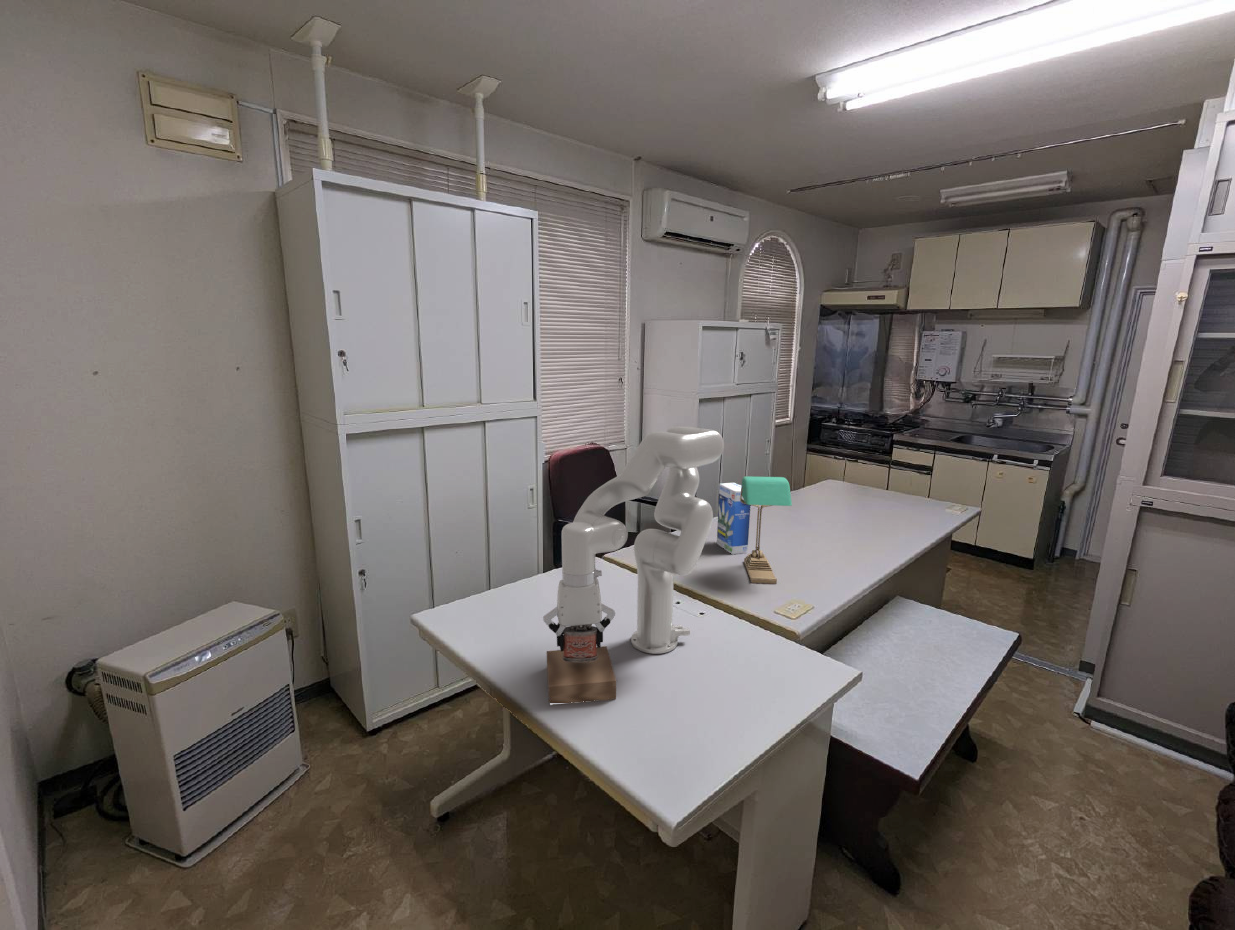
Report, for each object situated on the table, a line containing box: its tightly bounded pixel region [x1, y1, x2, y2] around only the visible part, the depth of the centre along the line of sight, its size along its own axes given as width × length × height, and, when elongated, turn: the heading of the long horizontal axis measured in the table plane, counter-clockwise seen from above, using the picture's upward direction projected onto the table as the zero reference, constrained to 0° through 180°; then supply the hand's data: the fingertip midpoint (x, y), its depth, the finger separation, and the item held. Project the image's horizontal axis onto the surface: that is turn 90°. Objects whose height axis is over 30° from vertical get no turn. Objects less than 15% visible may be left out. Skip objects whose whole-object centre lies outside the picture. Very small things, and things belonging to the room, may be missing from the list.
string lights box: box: [716, 482, 751, 555], centre depth 217 cm, size 13×8×26 cm, turn 17°
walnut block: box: [546, 645, 617, 704], centre depth 128 cm, size 15×15×5 cm
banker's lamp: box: [740, 475, 793, 585], centre depth 191 cm, size 16×21×35 cm
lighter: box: [563, 624, 597, 662], centre depth 127 cm, size 8×3×10 cm, turn 92°
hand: (580, 646), depth 127 cm, fingers closed on lighter, 8 cm apart
